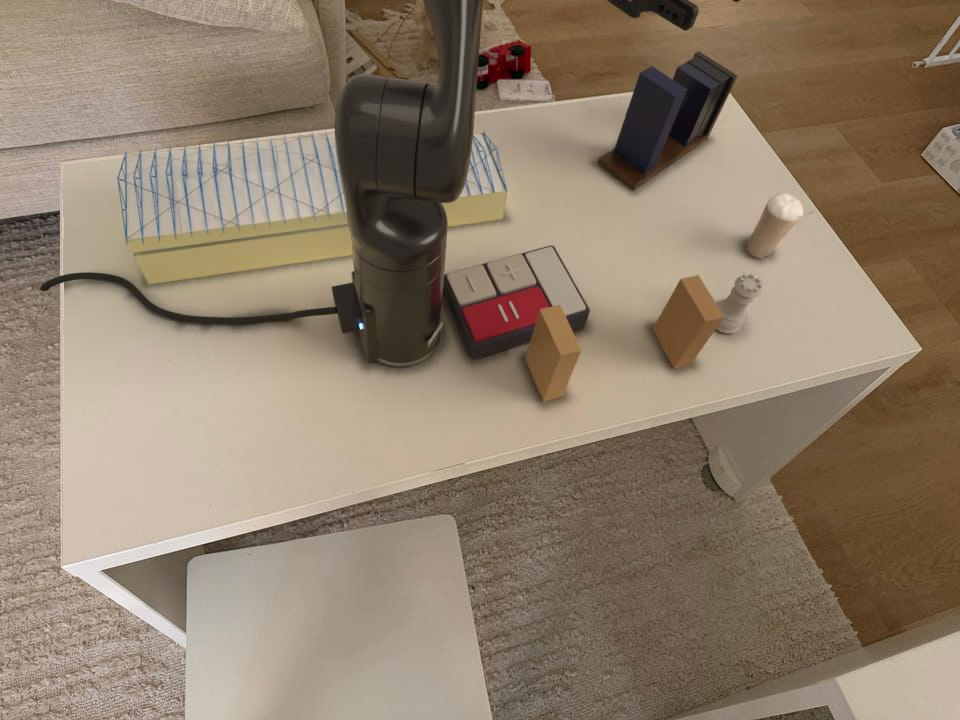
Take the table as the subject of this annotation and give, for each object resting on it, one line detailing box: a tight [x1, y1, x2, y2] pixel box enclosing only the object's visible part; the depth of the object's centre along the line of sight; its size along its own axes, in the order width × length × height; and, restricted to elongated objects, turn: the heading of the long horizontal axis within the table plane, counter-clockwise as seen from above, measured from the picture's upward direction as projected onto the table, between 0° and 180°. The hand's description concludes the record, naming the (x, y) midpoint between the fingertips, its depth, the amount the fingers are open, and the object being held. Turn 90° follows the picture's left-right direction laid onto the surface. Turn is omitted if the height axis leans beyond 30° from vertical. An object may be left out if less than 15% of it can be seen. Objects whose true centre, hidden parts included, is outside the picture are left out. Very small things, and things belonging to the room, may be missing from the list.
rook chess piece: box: [715, 273, 763, 334], centre depth 81 cm, size 4×4×8 cm
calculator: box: [443, 245, 591, 360], centre depth 80 cm, size 11×4×15 cm
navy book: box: [613, 65, 687, 174], centre depth 92 cm, size 3×6×13 cm, turn 43°
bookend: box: [597, 50, 738, 192], centre depth 95 cm, size 18×7×11 cm, turn 133°
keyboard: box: [116, 130, 508, 285], centre depth 83 cm, size 45×15×10 cm, turn 105°
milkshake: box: [745, 192, 814, 259], centre depth 87 cm, size 5×5×10 cm
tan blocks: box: [524, 274, 724, 402], centre depth 75 cm, size 19×6×10 cm, turn 108°
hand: (720, 5), depth 64 cm, fingers open, 8 cm apart
